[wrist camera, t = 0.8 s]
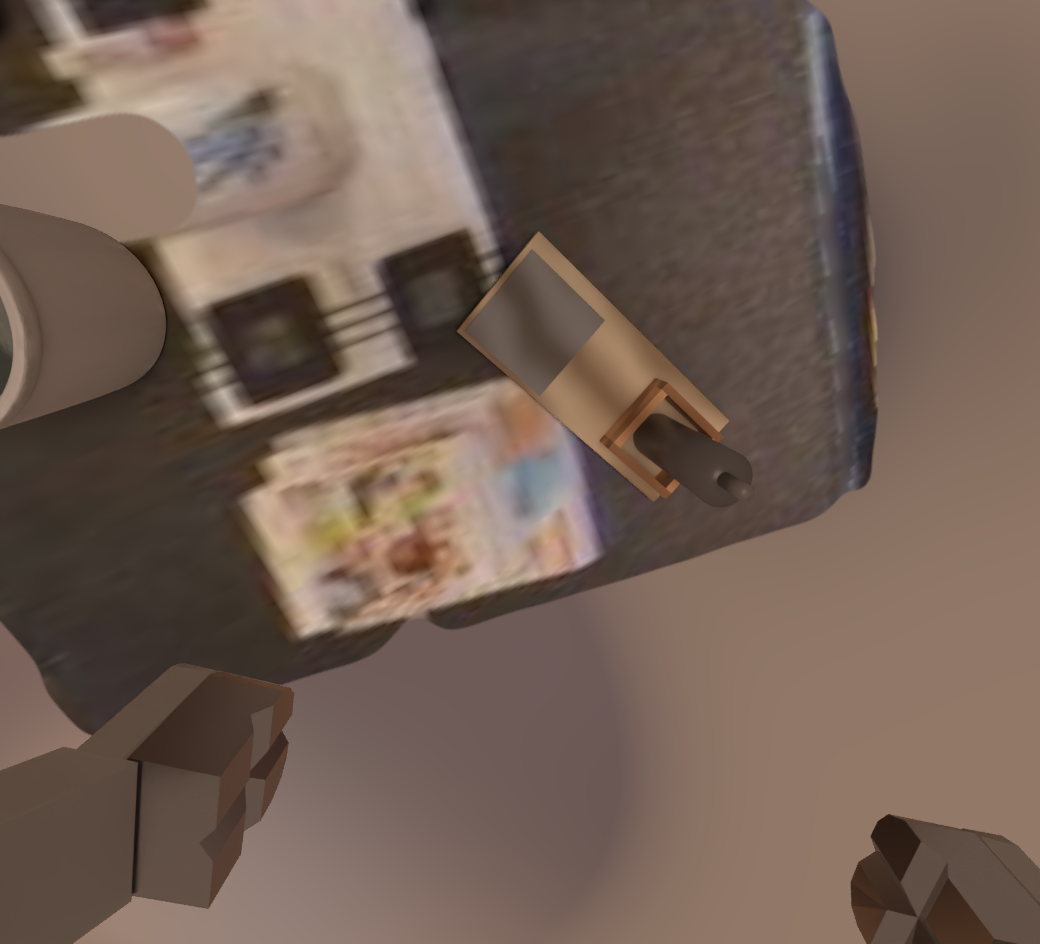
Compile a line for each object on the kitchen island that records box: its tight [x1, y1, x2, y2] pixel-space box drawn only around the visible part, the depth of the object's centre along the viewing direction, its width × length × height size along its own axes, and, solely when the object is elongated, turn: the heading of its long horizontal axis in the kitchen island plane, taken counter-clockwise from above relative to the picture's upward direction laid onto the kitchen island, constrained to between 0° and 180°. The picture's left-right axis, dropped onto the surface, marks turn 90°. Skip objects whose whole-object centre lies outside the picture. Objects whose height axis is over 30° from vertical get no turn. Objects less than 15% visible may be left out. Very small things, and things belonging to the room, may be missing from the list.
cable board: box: [456, 231, 729, 502], centre depth 51 cm, size 11×26×4 cm, turn 49°
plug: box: [633, 413, 754, 507], centre depth 46 cm, size 4×4×17 cm
